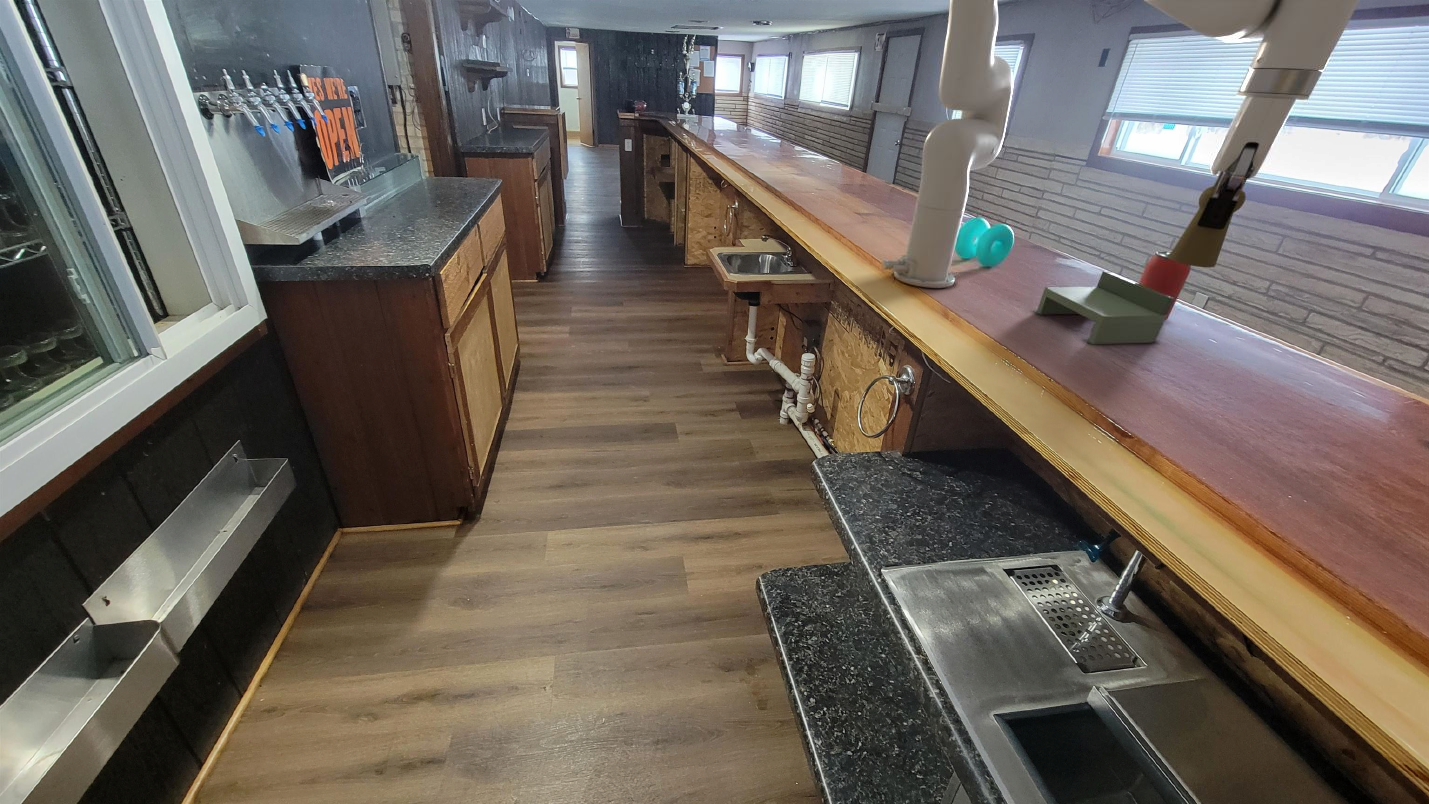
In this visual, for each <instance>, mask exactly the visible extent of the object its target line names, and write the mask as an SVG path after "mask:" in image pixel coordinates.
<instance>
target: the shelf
mask: <svg viewBox="0 0 1429 804" xmlns="http://www.w3.org/2000/svg"><path fill="white" fill-rule="evenodd" d="M1174 299H1175V298H1173V297H1170V296H1168V295H1165V294H1163V293H1160V292H1158V291H1155V290H1153V289H1150V288H1148V287H1145V286H1143V285H1140V284H1139V282H1135V281H1133V280H1130V279H1128V278H1125V277H1122V276H1120V275H1118V274H1115V273H1113V272H1110V271H1108V270H1105V271H1104V270H1103V271H1102V273H1101V275H1100V277H1099V280H1098V282H1097V285H1096V286H1058V287H1057V286H1054V287H1053V286H1047V287H1046V286H1045V287H1044V288H1043V291H1042V295H1041V297H1040V300H1039V303H1038V306H1037V309H1036V313H1037V314H1039V315H1081V316H1083V317H1085V318H1086V319H1089V320H1091V321H1093V322H1095V323H1094V326H1093V328H1092V330H1091V333H1090V335H1089V338H1088V341H1087V342H1088V343H1090V344H1092V345H1108V344H1109V345H1110V344H1112V345H1113V344H1147V343H1148V344H1149V343H1151V344H1152V343H1155V342H1156V339H1157V337H1158V335H1159V334H1160V331H1161V329H1162V327H1163V325H1164V322H1165V321H1166V320H1165V318H1166V316H1167V314H1168V312H1169V309H1170V307H1171V305H1172V303H1173V301H1174ZM1164 320H1165V321H1164Z"/></svg>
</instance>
